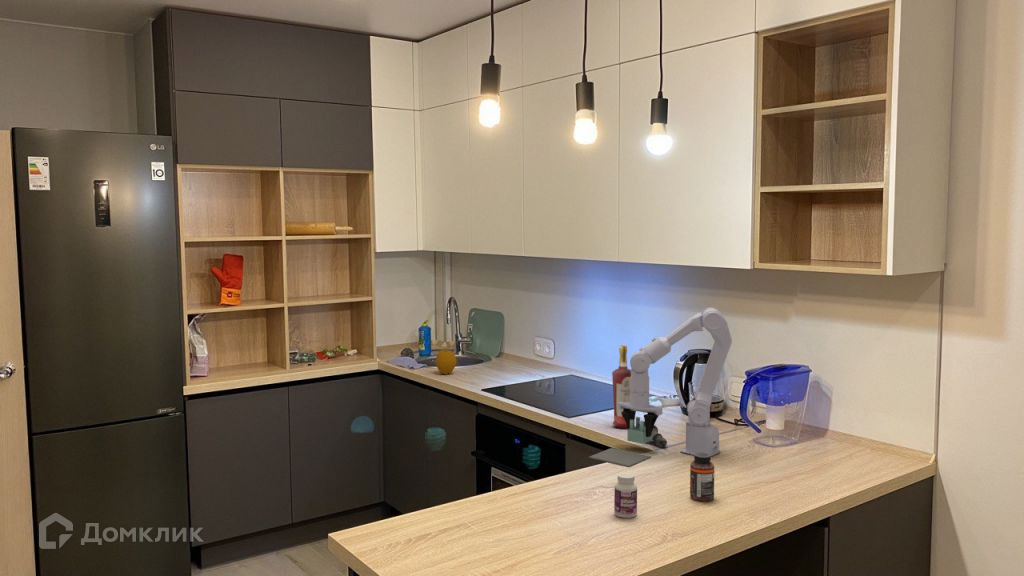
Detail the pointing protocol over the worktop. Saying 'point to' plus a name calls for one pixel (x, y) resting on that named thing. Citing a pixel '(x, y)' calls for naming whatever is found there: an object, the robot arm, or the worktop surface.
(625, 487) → the pill bottle
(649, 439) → the stool
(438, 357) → the orange rounded oval
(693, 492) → the supplement bottle
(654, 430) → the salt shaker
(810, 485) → the worktop surface
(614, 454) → the mat
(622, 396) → the liquor
